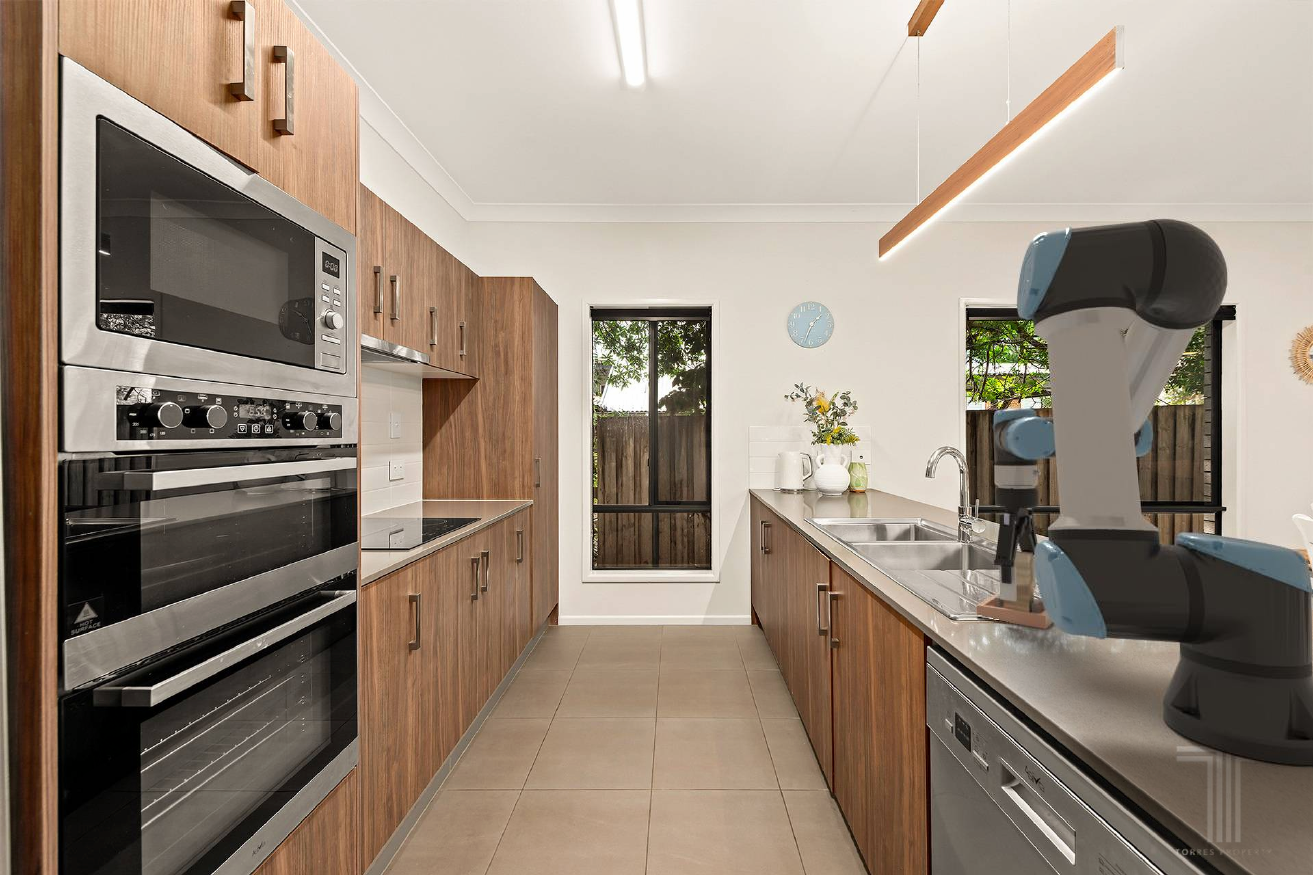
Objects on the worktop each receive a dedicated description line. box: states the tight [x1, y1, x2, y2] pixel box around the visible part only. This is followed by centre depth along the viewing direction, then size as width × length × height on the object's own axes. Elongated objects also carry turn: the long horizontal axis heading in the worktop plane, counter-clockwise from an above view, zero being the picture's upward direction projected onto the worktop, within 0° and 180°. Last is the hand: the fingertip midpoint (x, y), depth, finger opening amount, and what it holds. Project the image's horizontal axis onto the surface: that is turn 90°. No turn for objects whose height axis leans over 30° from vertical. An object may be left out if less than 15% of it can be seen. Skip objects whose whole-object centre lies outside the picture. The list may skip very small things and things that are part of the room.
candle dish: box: [976, 593, 1054, 630], centre depth 127 cm, size 12×12×4 cm
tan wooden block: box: [1004, 550, 1035, 612], centre depth 127 cm, size 4×4×12 cm
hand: (1018, 593), depth 127 cm, fingers open, 13 cm apart
